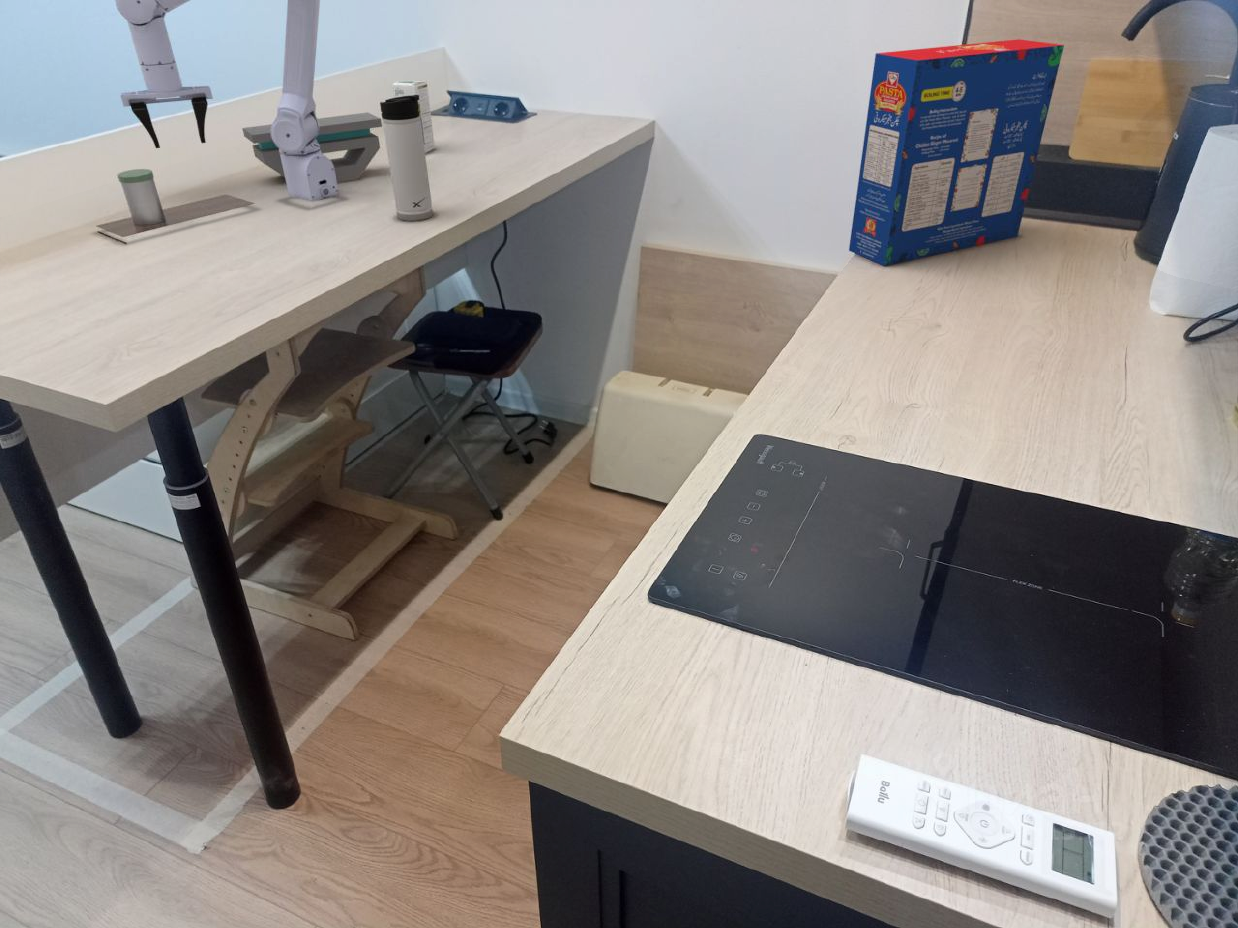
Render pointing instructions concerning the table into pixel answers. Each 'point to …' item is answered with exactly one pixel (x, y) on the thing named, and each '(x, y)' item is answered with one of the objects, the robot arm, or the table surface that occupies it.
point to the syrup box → (424, 107)
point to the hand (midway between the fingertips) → (180, 144)
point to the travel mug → (407, 157)
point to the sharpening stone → (328, 143)
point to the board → (176, 215)
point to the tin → (142, 196)
